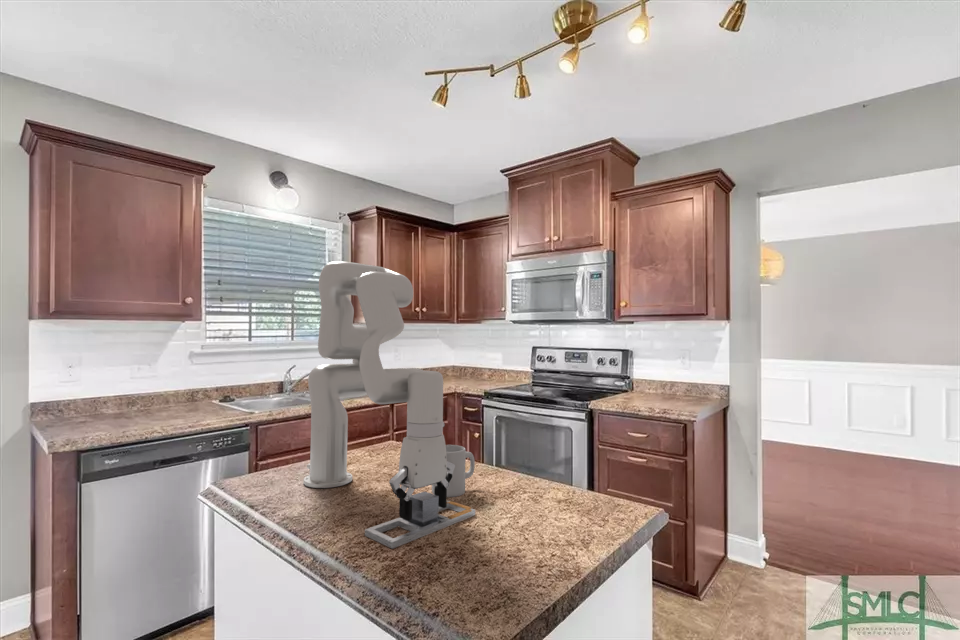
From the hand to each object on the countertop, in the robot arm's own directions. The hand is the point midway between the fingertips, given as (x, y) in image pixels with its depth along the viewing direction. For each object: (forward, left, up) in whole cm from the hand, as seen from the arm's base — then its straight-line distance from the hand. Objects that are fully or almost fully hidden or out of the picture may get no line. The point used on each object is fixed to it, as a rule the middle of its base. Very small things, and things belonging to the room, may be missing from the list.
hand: (423, 512), depth 99 cm
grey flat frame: (0, 0, -3) cm, 3 cm away
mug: (-11, +21, -3) cm, 23 cm away
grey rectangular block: (0, 0, -3) cm, 3 cm away
